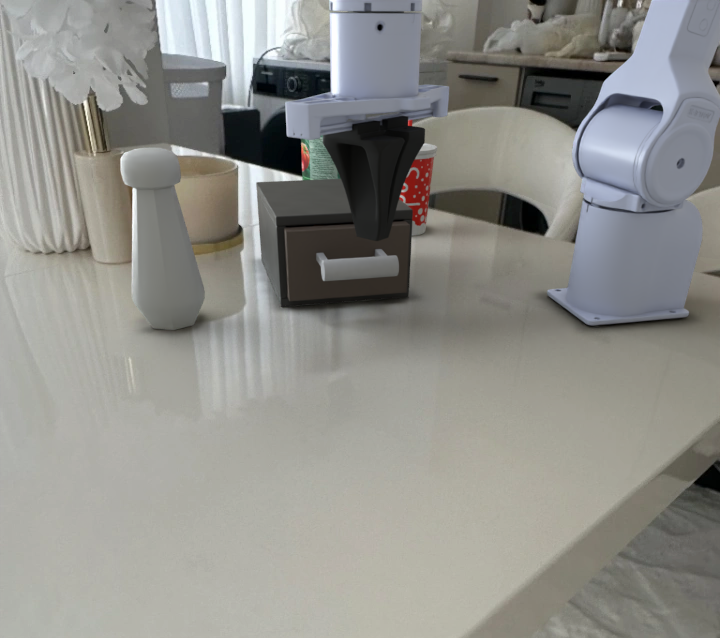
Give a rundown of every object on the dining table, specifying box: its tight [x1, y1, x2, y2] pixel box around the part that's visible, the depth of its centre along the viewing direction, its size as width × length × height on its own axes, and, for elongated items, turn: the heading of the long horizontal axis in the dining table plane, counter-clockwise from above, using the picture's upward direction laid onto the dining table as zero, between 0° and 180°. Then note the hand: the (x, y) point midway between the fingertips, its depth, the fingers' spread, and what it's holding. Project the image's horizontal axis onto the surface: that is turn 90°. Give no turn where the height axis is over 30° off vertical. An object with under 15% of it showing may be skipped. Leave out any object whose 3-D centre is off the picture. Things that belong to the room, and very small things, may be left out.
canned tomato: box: [300, 119, 353, 180], centre depth 88 cm, size 8×8×11 cm
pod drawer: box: [284, 221, 410, 301], centre depth 63 cm, size 17×10×6 cm, turn 14°
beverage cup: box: [399, 120, 438, 237], centre depth 79 cm, size 6×6×14 cm
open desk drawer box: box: [255, 179, 413, 308], centre depth 66 cm, size 14×12×8 cm
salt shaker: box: [120, 147, 206, 331], centre depth 55 cm, size 6×6×13 cm
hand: (372, 237), depth 52 cm, fingers closed
